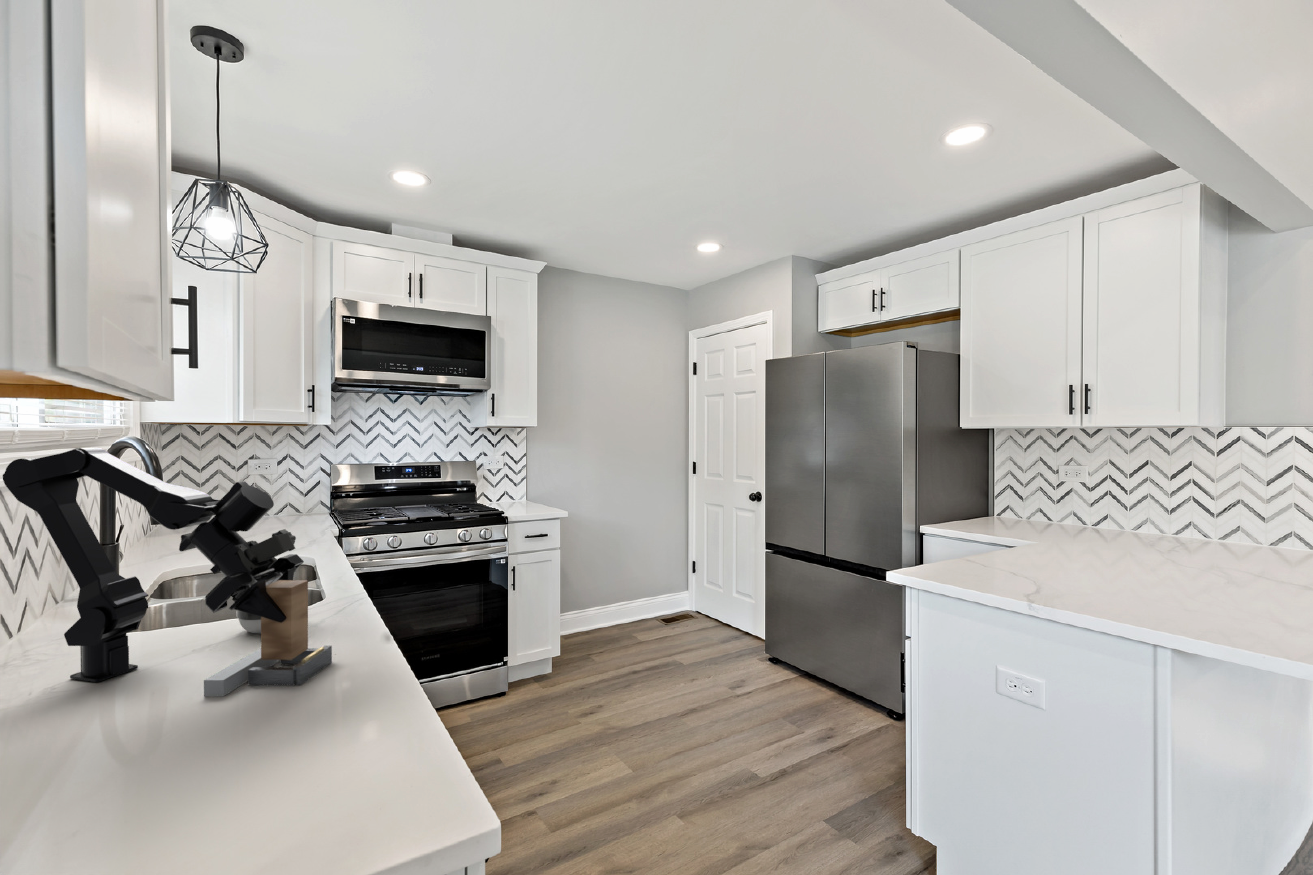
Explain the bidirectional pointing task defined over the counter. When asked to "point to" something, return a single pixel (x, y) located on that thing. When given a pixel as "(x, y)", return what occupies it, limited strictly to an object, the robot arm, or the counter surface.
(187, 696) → the counter surface
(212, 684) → the door edge
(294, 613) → the block
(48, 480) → the robot arm
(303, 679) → the keeper
